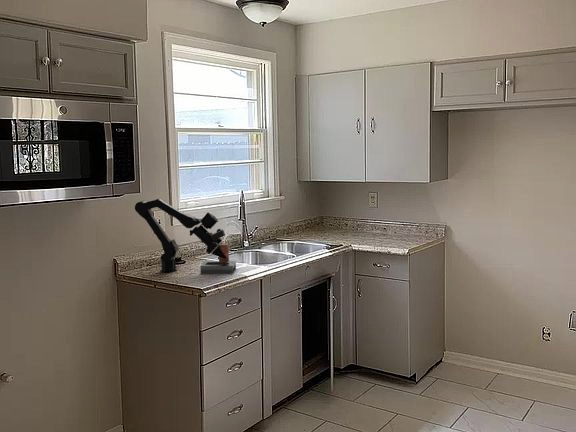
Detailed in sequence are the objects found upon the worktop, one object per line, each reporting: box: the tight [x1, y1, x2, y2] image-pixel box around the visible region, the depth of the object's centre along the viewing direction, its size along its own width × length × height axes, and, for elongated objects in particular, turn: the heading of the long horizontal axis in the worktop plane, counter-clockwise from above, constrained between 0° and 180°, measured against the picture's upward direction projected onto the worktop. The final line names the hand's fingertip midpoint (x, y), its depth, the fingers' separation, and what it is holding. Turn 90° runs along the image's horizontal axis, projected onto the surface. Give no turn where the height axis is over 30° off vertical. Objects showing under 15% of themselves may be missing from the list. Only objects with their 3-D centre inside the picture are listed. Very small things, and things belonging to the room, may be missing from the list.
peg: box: [218, 243, 230, 264], centre depth 305 cm, size 5×5×13 cm
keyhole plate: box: [199, 260, 237, 275], centre depth 305 cm, size 16×13×4 cm
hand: (226, 257), depth 305 cm, fingers closed on peg, 5 cm apart
